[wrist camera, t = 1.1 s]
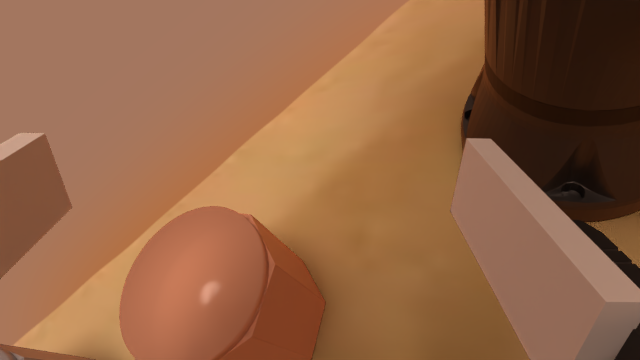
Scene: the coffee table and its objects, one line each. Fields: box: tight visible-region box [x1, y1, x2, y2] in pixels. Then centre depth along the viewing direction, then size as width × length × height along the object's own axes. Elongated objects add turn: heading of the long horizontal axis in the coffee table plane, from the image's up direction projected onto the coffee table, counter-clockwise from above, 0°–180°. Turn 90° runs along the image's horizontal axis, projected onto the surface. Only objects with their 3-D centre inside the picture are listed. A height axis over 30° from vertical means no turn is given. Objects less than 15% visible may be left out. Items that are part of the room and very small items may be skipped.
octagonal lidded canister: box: [119, 206, 326, 360], centre depth 27 cm, size 10×10×10 cm
